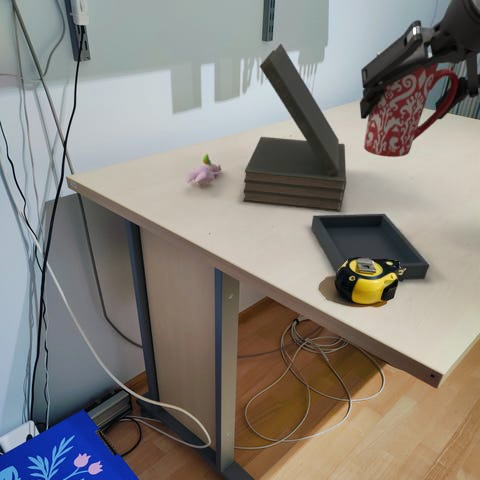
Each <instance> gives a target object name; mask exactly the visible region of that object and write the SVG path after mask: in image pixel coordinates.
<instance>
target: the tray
mask: <svg viewBox="0 0 480 480" xmlns="http://www.w3.org/2000/svg"><path fill="white" fill-rule="evenodd" d="M310 229H311V231H312V233H313V234H314V237H315V238H316V241H317V242H318V244H319V245H320V247H321V249H322V251H323V253H324V255H325V257H326V259H327V260H328V262H329V264H330V266H331V268H332V269H333V271H334V273H335V275H336V276H337V271H338V269H339V268H340V267H341V266H342V265H343V264H344V263H345V262H346V261H347V259H349V258H353V257H362V258H369V259H389V260H397V261H399V262H400V264H399V265H400V267H401V268H406V270H405V274H404V275H400V276H399V277H398V280H397V281H412V280H414V281H415V280H425V279H426V276H427V273H428V271H429V268H430V266H431V265H430V264H429V262H428V261H427V260H426V259H425V258H424V256H423V255H422V254H421V253H420V252H419V250H417V248H416V247H415V246H414V245H413V244H412V243H411V242H410V241H409V240H408V238H407V237H406V236H405V234H403V233H402V231H401V230H400V229H399V227H397V226H396V224H395V223H394V222H393V221H392V220H391V219H390V217H388V215H386V213H360V214H359V213H356V214H355V213H354V214H327V215H326V214H322V215H321V214H320V215H319V214H318V215H315V214H314V215H312V221H311V227H310Z"/></svg>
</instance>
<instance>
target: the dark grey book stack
mask: <svg viewBox="0 0 480 480" xmlns="http://www.w3.org/2000/svg"><path fill="white" fill-rule="evenodd" d="M259 68H260V69H261V71H262V73H263V74H264V76H265V78H266V79H267V81H268V82H269V84H270V86H271V87H272V88H273V90H274V92H275V93H276V95H277V96H278V98H279V100H280V102H281V103H282V104H283V105H284V107H285V109H286V111H287V112H288V114H289V115H290V117H291V118H292V119H293V121H294V123H295V125H296V126H297V128H298V129H299V132H300V133H301V134H302V136H303V138H304V139H305V140H303V139H292V138H291V139H290V138H280V137H271V136H270V137H269V136H260V138H259V140H258V142H257V144H256V146H255V148H254V150H253V153H252V155H251V157H250V159H249V160H248V163H247V165H246V167H245V169H244V173H245V177H244V179H243V183H244V184H245V185H244V189H243V194H244V197H243V201H242V202H243V203H253V204H261V205H262V204H263V205H271V206H282V207H288V208H289V207H290V208H299V209H300V208H301V209H309V210H319V211H326V212H327V211H328V212H335V213H337V212H338V213H340V212H341V211H342V205H343V201H344V197H345V196H344V195H345V191H346V186H347V167H346V145H345V143H340V140H339V138H338V136H337V134H336V132H335V131H334V129H333V128H332V126H331V124H330V123H329V121H328V120H327V118H326V116H325V115H324V112H323V111H322V109H321V108H320V106H319V104H318V103H317V101H316V99H315V98H314V96H313V95H312V92H311V91H310V89H309V88H308V86H307V85H306V83H305V81H304V79H303V78H302V76H301V74H300V73H299V71H298V70H297V68H296V65H295V64H294V62H293V61H292V60H291V58H290V56H289V54H288V52H287V50H286V49H285V48H284V46H283V44H282V43H280V44H279V45H278V46H277V47H276V49H275V50H274V49H273V50H272V51H271V52H270V53H269V54H268V55H267V57H265V59H264V61H262V63H261V64H260V65H259Z"/></svg>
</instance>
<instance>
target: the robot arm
mask: <svg viewBox="0 0 480 480" xmlns="http://www.w3.org/2000/svg"><path fill="white" fill-rule="evenodd" d="M429 47H430V51H431V52H430V53H432V57H430V58H429V56H428V53H429ZM382 51H383V52H382V53H381V54H379V55H378V56H377V55H376V57H374V58H373V59H372V60H371V61H369V62H368V63H367V64H366V65H365V66H364V67H362V68H361V69H360V71H361V83H362V88H363V90H362V99H361V100H360V101H359V110H360V119H361V120H366V119H368V116H369V113H370V112H371V111H372V109H373V108H374V107H375V105H376V104H377V102H378V101H379V100H380V98H381V97H382V95H383V94H384V88H385V87H387V86H389V85H391V84H393V83H395V82H397V81H398V80H400V79H402V78H404V77H406V76H408V75H410V74H411V73H413V72H415V71H417V70H419V69H421V68H424V69H428V68H430V67H432V66H434V65H435V64H437V63H439V64H446V63H447V64H448V63H449V64H455V65H457V64H460V63H462V62H465V70H466V76H459V77H458V80H459V83H458V89H457V92H456V95H455V97H454V99H453V101H452V102H451V104H450V105H449V107H448V108H447V109H446V111H445V112H444V113H443V114H442V115H441V116H440V117H439V118H438V119H437V120H442V119H444V117H445V116H446V115H447V114H448V113H449V112H451V110H452V109H454V108H455V107H456V106H457V105H458V104H460V103H461V102H463V101H464V100H465V99H466V98H467V97H468V96H469V98H470V99H472V98H476V97H478V96H479V94H480V92H479V89H480V73H478V55H479V54H480V0H451V1H450V2H449V4H448V6H447V8H446V10H445V13H444V15H443V17H442V19H440V21H438V22H437V23H435V24H434V25H433V26H432V27H423V26H422V21H421V20H419V19H418V20H417V19H416V20H414V21H412V22H411V23H410V24H409V26H408V27H407V29H406V30H405V32H404V33H403V34H401V36H400V37H398V38H397V39H396V40H395V41H393V42H392V43H391V44H390V45H389V46H388V47H386V48H385V49H384V50H382ZM449 90H450V87H449V88H448V89H447V90H446V91H445V92H444V93H443V94H442V95H441V97H440V98H439V99H437V101H436V102H435V103H434V104H435V105H434V107H435V111H436V110H437V109H438V108H439V107H440V106H441V104H442V103H443V102H444V100H445V99H446V97H447V95H448V93H449Z"/></svg>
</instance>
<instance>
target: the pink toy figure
mask: <svg viewBox="0 0 480 480" xmlns="http://www.w3.org/2000/svg"><path fill="white" fill-rule="evenodd" d="M202 162H203V164H204V165H200V166H196V167H195V168H194V169H193V171H191V172H188V173H187V174H186V175H185V179H186V183H187V184H189V183H191V182H192V181H194V182H193V183H194V184H193V185H196V184H200V185H202V186H203V185H207V184H209V183H211V182H213V181H214V180H215V177H217V176H218V175H222V174H223V172H222V168H221V167H222V166H221V164H218V165H217V164H215V163H212V162H211V160H210V157H209V154H208V153H207V154H205V155H204V156H203V159H202Z"/></svg>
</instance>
